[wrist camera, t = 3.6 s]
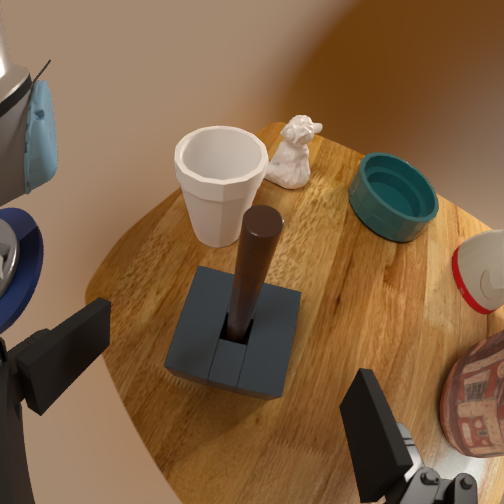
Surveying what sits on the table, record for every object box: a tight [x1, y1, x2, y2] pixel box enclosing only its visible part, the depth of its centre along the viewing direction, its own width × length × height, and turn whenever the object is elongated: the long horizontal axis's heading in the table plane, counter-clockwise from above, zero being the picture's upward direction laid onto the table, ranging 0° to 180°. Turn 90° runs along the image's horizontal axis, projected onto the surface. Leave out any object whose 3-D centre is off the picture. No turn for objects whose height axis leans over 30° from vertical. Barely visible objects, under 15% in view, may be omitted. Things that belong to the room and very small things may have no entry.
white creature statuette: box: [264, 115, 322, 189], centre depth 41 cm, size 10×9×12 cm
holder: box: [164, 266, 301, 400], centre depth 29 cm, size 11×11×6 cm
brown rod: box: [225, 205, 284, 344], centre depth 22 cm, size 2×2×22 cm
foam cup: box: [174, 126, 268, 248], centre depth 34 cm, size 10×9×13 cm
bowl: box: [348, 152, 439, 242], centre depth 43 cm, size 15×15×6 cm
